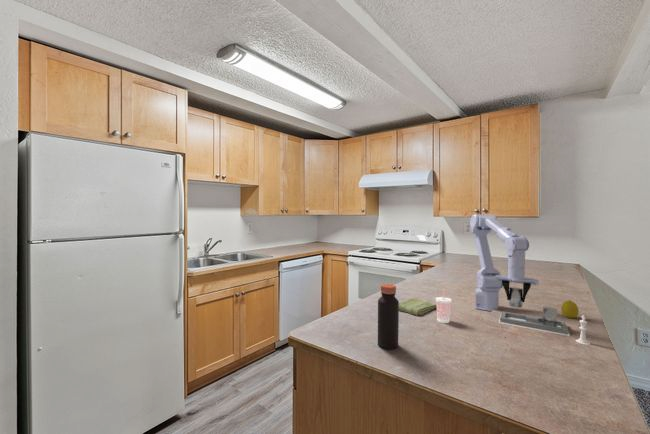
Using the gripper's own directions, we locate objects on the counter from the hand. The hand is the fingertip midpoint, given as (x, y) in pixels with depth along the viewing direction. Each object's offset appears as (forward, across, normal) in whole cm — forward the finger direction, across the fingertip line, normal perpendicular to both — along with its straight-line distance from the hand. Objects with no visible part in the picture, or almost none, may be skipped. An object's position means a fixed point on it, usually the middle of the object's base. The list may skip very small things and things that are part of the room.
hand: (515, 300), depth 120 cm
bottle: (+9, -34, -48) cm, 60 cm away
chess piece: (+9, +20, -10) cm, 24 cm away
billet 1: (+2, 0, 0) cm, 2 cm away
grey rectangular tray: (+9, +6, 0) cm, 11 cm away
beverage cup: (+9, -24, -14) cm, 30 cm away
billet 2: (+8, +11, 0) cm, 14 cm away
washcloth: (+10, -38, -5) cm, 40 cm away
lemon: (+9, +18, +18) cm, 27 cm away
